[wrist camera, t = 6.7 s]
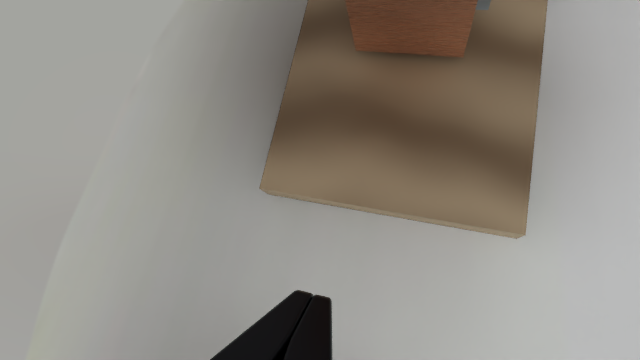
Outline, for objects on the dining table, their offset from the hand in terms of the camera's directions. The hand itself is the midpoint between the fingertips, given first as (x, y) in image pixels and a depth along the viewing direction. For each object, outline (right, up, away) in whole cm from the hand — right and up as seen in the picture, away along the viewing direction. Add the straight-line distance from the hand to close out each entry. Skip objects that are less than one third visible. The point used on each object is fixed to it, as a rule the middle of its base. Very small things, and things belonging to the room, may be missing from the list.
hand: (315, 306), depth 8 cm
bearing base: (+6, +11, +15) cm, 19 cm away
